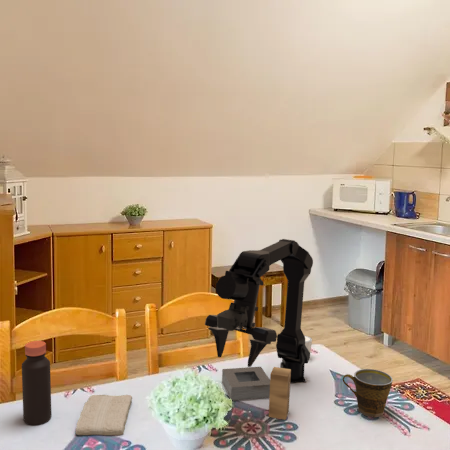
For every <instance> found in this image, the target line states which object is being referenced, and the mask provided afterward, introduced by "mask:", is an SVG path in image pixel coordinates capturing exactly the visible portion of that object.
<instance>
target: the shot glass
mask: <svg viewBox="0 0 450 450" xmlns="http://www.w3.org/2000/svg"><path fill="white" fill-rule="evenodd" d="M304 336H305V346H306V347H307V349H308V351H309V352H310V353H311V349H312V344H313V339H312V337H310V336H307V335H304Z"/></svg>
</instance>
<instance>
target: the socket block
mask: <svg viewBox="0 0 450 450" xmlns="http://www.w3.org/2000/svg"><path fill="white" fill-rule="evenodd" d="M221 372H222V373H221V382H222V385H223V387H224V389H225V391H226V393H227V395H228V397H229V399H230V398H231V399H232V400H233V401H232V402H235V401H247V400H258V399H259V400H261V399H269V396H270V378H269V377H268V375H267V373H266V372H265V370H264V368H262V366H251V367H248V366H246V367H235V368H234V367H233V368H222V370H221Z"/></svg>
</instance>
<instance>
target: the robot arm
mask: <svg viewBox="0 0 450 450" xmlns="http://www.w3.org/2000/svg"><path fill="white" fill-rule="evenodd" d="M279 261H281V263H282V272H283V274H284V275H285V277H286V280H287V285H286V286H287V290H286V302H285V316H284V326H283V329H282V330H281V331H280V333H278V334H277V331H276V330H275V329H272V328H268V327H265V326H263V327H261V326H258V327H257V326H256V322H254V317H255V312H258V309H259V307H258V306H257V303H258V297H259V291H260V290H259V289H260V286H264V281H263V280H262V279H261V277H263V276H264V275H265V274H266V273H268V272H269V270H270V266H271V265H273V264H275V263H277V262H279ZM313 264H314V259H313V257H312V255H311V254H310V253H309V251H307V250H306V248H304V247H302V246H301V245H299V243H298V241H296V240H293V239H286V238H282V239H279V241H277V242H275V243H273V244H270V245H268V246H266V247H264V248H262V249H257V250H255V249H254V250H252V249H251V250H244V251H243V250H242V251H241V252H240V253H239V255H238V257H236V259H235V261H234V262H233V264H232V265H231V266H230V268H229V270H225V273H224V275H222V276H221V277H219V278H218V280H217V282H216V283H215V292H216V294H217V296H218V297H219V298H220V299H223V300H232V301H233V302H230V303H229V306H228V309H225V310H222V311H221V312H219V313H218V314H217V315H216V314H208V316H206V318H205V321H204V325H205V326H207V328H208V330H209V331H211V333H212V334H213V337H214V341H215V348H216V353H217V358H222V356H223V353H224V350H225V346H226V342H227V339H228V336H229V332H234V331H236V332H240V333H244V334H247V335H251V336H252V339H249V342H250V350H249V355H248V360H247V367H253V364H254V363H255V361H256V360H257V358H258V357H259V356H260V354H261V352H262V351H263V350H264V349H265V347H267V345H271V343H276V345H275V348H276V354H277V358H279V359H281V361H280V364H279V366H280V367H279V368H285V369H291V377H290V384H291V383H301V382H303V383H304V382H306V381H307V379H306V377H305V364H309V361H310V356H311V351H310V352H309V351H308V349H307V347H306V346H305V336H306V335H305V334H304V333H303V331H302V317H303V315H302V314H303V305H304V304H303V303H304V302H303V301H304V291H305V281H306V280H307V279H308V277H309V276H310V275H311V272H312V268H313Z"/></svg>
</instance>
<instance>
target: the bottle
mask: <svg viewBox="0 0 450 450" xmlns="http://www.w3.org/2000/svg"><path fill="white" fill-rule="evenodd" d="M24 354H25V357H26V359H24V361H23V362H22V363H21V386H22V388H21V389H22V414H23V416H22V417H23V422H24V423H25V424H27V425H30V426H38V425H43V424H45V423H48V422H49V421H50V420H51V418H52V385H51V384H52V383H51V380H52V379H51V361H50V359H48V358H47V357H46V356H45V355H46V354H47V343H46V342H45V341H43V340H33V341H30V342H27V343H26V344H25V345H24Z"/></svg>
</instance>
